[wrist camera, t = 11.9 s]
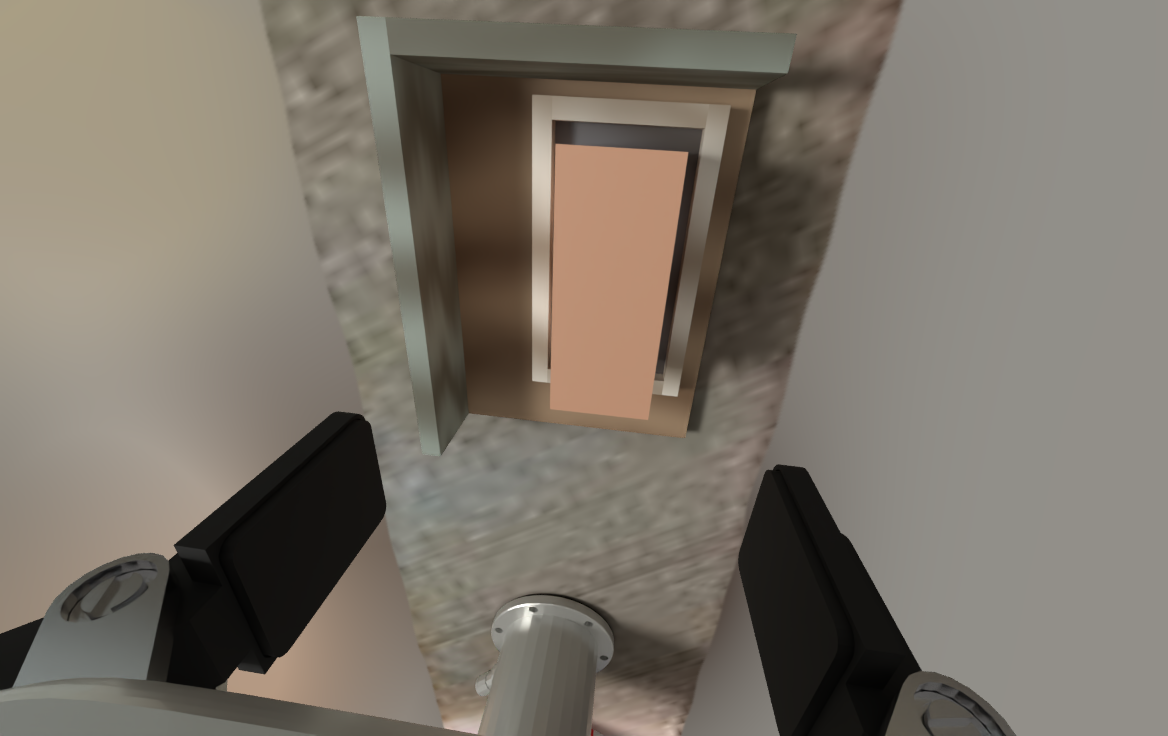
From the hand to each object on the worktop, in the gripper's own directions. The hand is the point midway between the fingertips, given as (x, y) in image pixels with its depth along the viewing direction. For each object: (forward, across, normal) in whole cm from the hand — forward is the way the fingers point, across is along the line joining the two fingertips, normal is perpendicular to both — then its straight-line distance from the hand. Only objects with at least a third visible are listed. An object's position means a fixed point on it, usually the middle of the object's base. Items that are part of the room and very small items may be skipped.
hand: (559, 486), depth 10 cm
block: (+17, 0, -2) cm, 17 cm away
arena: (+19, +2, -1) cm, 19 cm away
